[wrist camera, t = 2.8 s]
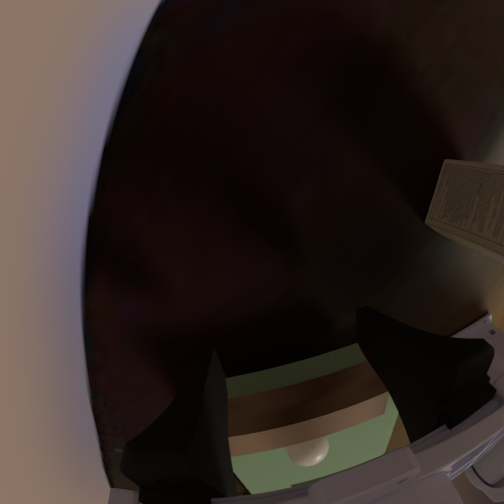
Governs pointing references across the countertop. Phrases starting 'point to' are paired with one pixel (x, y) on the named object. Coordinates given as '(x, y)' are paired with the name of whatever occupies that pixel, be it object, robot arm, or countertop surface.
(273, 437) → the long wooden beam
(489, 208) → the box
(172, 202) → the countertop surface
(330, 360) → the green
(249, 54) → the countertop surface
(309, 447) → the ball
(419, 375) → the robot arm
